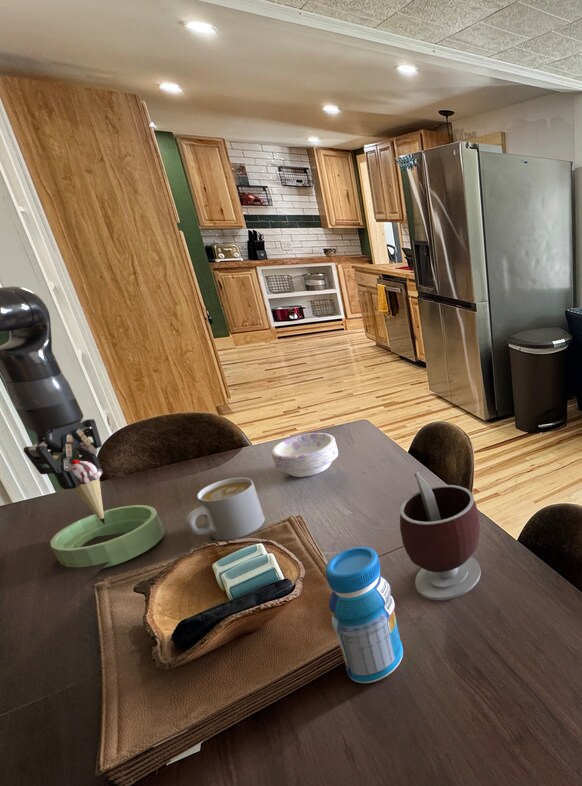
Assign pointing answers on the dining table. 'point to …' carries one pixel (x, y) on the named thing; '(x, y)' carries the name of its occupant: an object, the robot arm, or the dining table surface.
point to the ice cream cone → (88, 485)
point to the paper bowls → (305, 454)
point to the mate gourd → (441, 539)
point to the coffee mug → (227, 509)
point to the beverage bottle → (363, 615)
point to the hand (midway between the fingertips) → (83, 479)
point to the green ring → (127, 519)
